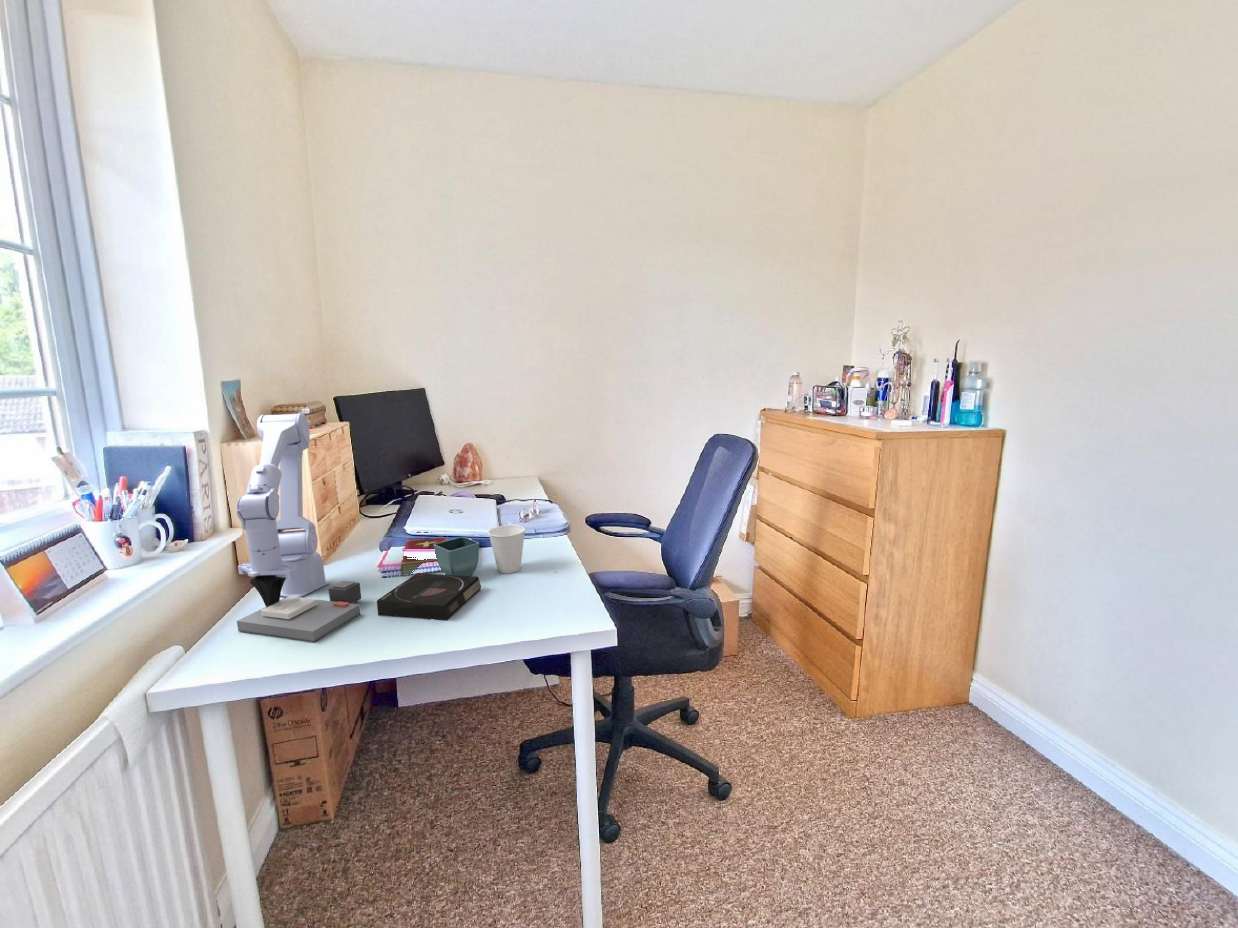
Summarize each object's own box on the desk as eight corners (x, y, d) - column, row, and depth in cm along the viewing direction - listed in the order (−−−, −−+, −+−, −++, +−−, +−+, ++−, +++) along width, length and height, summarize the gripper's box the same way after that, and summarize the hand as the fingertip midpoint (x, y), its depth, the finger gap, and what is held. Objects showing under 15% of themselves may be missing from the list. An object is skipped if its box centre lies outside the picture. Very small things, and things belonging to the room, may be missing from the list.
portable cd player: (448, 622, 120) (447, 605, 120) (378, 617, 124) (376, 600, 123) (481, 592, 136) (480, 576, 135) (418, 588, 140) (417, 573, 139)
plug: (345, 599, 132) (343, 579, 132) (361, 601, 131) (359, 581, 130) (330, 608, 128) (328, 587, 127) (347, 610, 127) (344, 588, 126)
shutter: (290, 601, 126) (289, 593, 126) (317, 604, 124) (316, 596, 123) (261, 615, 119) (260, 607, 118) (289, 619, 117) (287, 611, 116)
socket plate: (289, 605, 130) (288, 593, 129) (360, 614, 124) (359, 601, 124) (238, 631, 118) (236, 618, 117) (314, 642, 112) (312, 628, 112)
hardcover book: (401, 578, 146) (399, 563, 146) (406, 553, 166) (405, 539, 165) (448, 572, 150) (447, 557, 149) (448, 548, 170) (447, 535, 169)
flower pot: (435, 576, 146) (432, 543, 144) (465, 567, 152) (463, 535, 150) (451, 585, 140) (448, 551, 138) (482, 575, 146) (480, 542, 144)
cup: (495, 563, 154) (493, 525, 152) (531, 562, 154) (528, 524, 152) (485, 576, 145) (483, 536, 143) (523, 576, 144) (521, 535, 142)
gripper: (221, 551, 118) (230, 610, 121) (274, 556, 114) (283, 617, 117) (251, 540, 125) (259, 597, 127) (302, 545, 121) (310, 603, 123)
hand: (272, 606), depth 123 cm, fingers closed
